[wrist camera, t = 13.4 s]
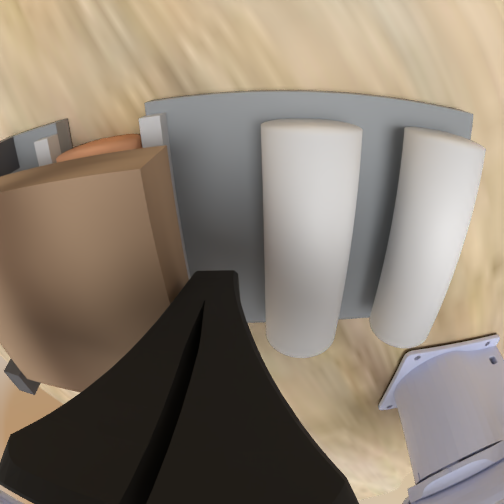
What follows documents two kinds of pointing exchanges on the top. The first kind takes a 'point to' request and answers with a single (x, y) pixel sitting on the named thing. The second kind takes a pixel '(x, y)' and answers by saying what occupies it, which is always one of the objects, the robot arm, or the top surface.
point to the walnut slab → (86, 262)
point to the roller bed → (240, 177)
